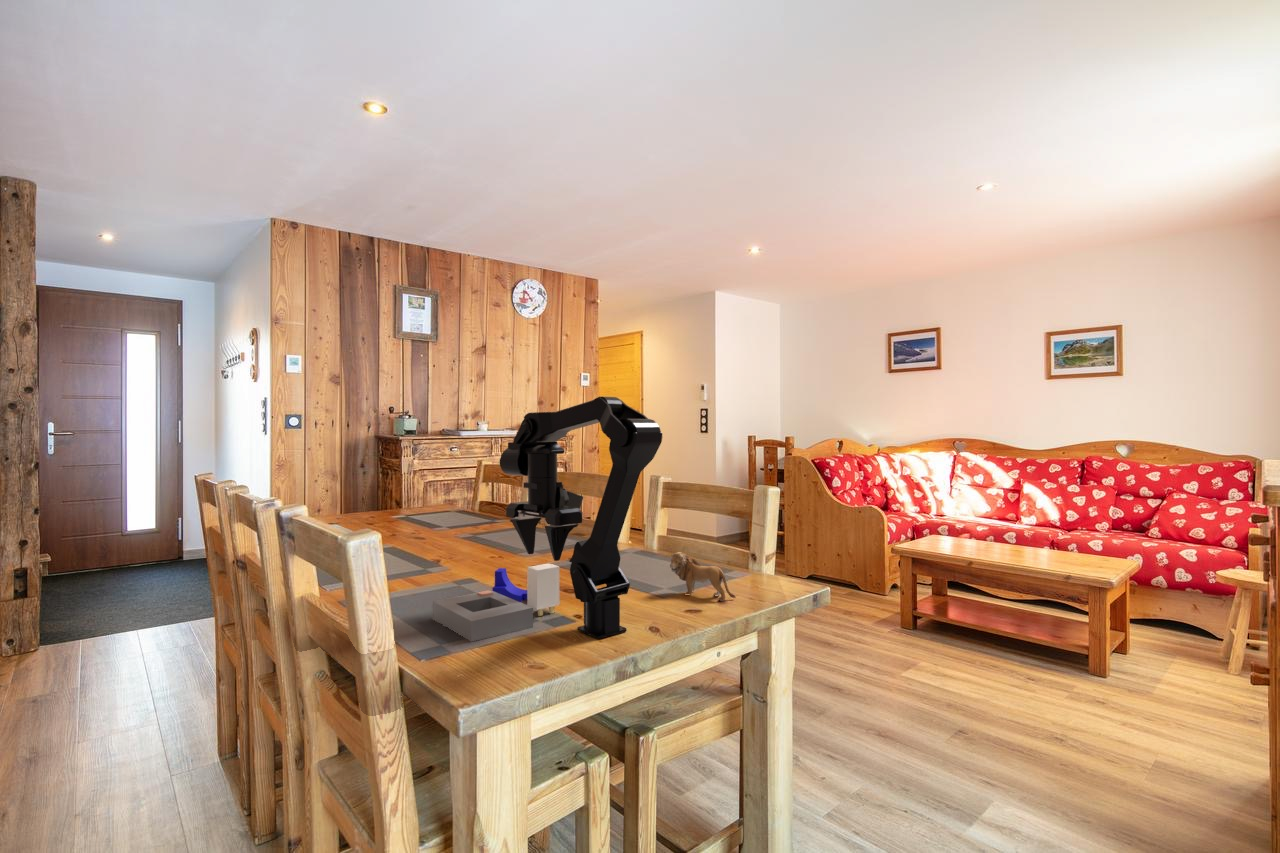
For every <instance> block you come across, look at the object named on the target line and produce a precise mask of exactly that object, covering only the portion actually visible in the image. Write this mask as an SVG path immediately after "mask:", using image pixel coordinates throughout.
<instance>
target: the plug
mask: <svg viewBox="0 0 1280 853" xmlns="http://www.w3.org/2000/svg"><path fill="white" fill-rule="evenodd" d="M526 573H527V576H526V577H527V578H526V579H527V581H526V582H527V583H526V584H527V589H526V590H527V600H526V601H527V603H526V605H528V606H530V607H533V610H536V611H537V616H538V617H541V616H544V609H547V608H548V611H549V612H548V613H549V614H554V613H555V606H560V566H559V565H556V564H552V563H550V562H549V563H544V564H537V565H533V566H527V572H526Z"/></svg>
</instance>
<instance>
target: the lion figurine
mask: <svg viewBox="0 0 1280 853" xmlns="http://www.w3.org/2000/svg"><path fill="white" fill-rule="evenodd" d="M670 556H671V558H670V564H669V568H671V572H673V573H674V574H675V575H676V576H678V578H679V580H681V581H684V582H685V583H686V584H685V585H686V588H687V592H684V595H685V594H691V595H692V594H693V593H692V591H694V592H695V584H696V583H700V584H705V583H709V582H710V584H711V585H712V587H713V588H714V589H715V590H716V592H714V593H713V596H714V595H719V596H720V595H721V596H720V597H719V596H718V601H719V600H720V602H724V601H725V600H726V593H727V594H728V596H729V597H730V598H733V599H735V598H737V597H736V595H734V594H733V593H731V591H730V590H729V587H728V583H727V579H726V576H725V573H724V572H723V571H722V568H720V567H718V566H716V565H711V566H705V565H701V564H700V563H699V562H698V561H697V560H696V559H695V558H693V557H690V555H689V554H686V553H685V552H682V551H676V552H674V553H672V554H671V555H670ZM722 582H723V585H724V588H725V589H724V588H723V587H722V585H721V584H722ZM725 592H726V593H725Z"/></svg>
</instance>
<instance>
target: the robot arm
mask: <svg viewBox="0 0 1280 853" xmlns="http://www.w3.org/2000/svg"><path fill="white" fill-rule="evenodd" d="M595 424H599V426H600V428H601V431H602V433H603V434H604V435H605V436H606V437H607V438H608V439H609V440H610V442H609V447H608V450H609V455H610V460H611V462H612V465H611V469H610V473H609V476H608V479H607V482H606V486H605V488H604V491H603V495H602V498H601V501H600V503H599V504H600V505H599V508H598V510H597V513H596V518H595V520H594V521H595V522H594V523H593V527H592V529H591V533H590V536H589V537H588V539H585V540H580V541H576V542H575V544H574V547H573V554H572V556H571V558H570V559H569V563H570V567H569V574H570V579H571V583H572V587H573V592H574V596H575V599H577V600H579V601H580V602H581V603H583V625H580V626H577V627H576V628H577V631H578V632H581V633H583V634H585V635H588V636H591V637H593V638H595V639H604V638H607V637H611V636H614V635H618V634H622V633H625V632H627V630H628V628H626V627H625V626H622V625H621V624H620V623H621V618H620V617H621V612H620V610H621V606H620V605H621V603H620V602H621V599H620V597H619V596H623V595H627V594H629V589H630V585H631V584H630V582H629V580H628V578H627V577H626V575H625V574H624V572H623V570H622V569H621V568H620V562H621V554H620V550H619V547H618V544H619V539H620V536H621V534H622V533H621V532H622V530H623V527H624V524H625V521H626V517H627V514H628V512H629V508H630V506H631V502H632V499H633V496H634V493H635V491H636V487H637V485H638V484H637V483H638V481H639V478H640V475H641V473H642V472H643V471H644V469H645V468H647V466H648V465H649V464H650V463H651V462H652V460H654V458H655V457H656V455H657V452H658V450H659V448H660V446H661V444H662V442H663V432H662V430H661V428H660V426H659V424H658V423H657V422H656V421H655V420H654V419H652V418H651V419H650V418H648V417H647V416H646V415H645V414H643V413H641V412H640V411H638V410H636V409H634V408H632V407H631V406H630V405H628V404H626V403H625V402H624V401H623V400H622V399H620V398H618V397H617V396H597V397H595V398H594V399H593V400H592V399H591V400H589V401H585V402H582V403H580V404H576V405H573V406H570V407H566V408H563V409H560V410H557V411H544V412H543V411H539V412H537V411H536V412H527V413H526V414H525V415H524V416H523V420H522V422H521V423H520V424H519V428H518V431H517V432H516V434H515V436H514V438H513V441H508V442H507V448H505V449H504V450H503V452H502V453H501V455H500V457H499V467H500V469H501V471H502V472H503V474H505V475H508V476H522V477H523V476H524V477H527V481H526V482H523V488H525V489H527V501H515V502H510V503H509V504H508V505H507V506H506V510H505V512H506V513H505V514H506V518H510V519H509V522H510V523H511V524H512V525H513V527H514V529H515V531H516V532H517V534H518V536H519V538H520V540H521V542H522V545H523V546H524V549H525V550H526V552H527V554H528V555H533V554H534V553H535V546H536V533H537V526H538V524H540V521H541V520H542V518H544V520H545V523H546V525H544V529H545V532H546V537H547V541H548V545H549V548H550V553H551V556H552V558H553V561H555V562H558V561H560V559H561V557H562V555H563V554H562V553H563V551H564V547H565V544H566V542H567V538H568V536H569V533H570V532H571V531H572V530H573V529H575V528H578V526H579V524H583V523H584V521H583V520H584V518H583V517H584V516H583V511H582V510H581V507H582V504H583V500H584V496H583V495H581V494H577V493H574V492H572V491H569V490H567V488H564V484H563V482H562V481H558V455H559V454H560V455H561V454H564V453H565V449H564V448H563V447H562V446H560V444H559V443H558V441H559V440H561V439H563V438H565V437H566V436H567V434H569V432H571V431H574V430H577V429H580V428H585V427H588V426H589V427H590V426H593V425H595ZM602 585H606V586H603V587H599V588H597V587H598V586H602Z"/></svg>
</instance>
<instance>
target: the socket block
mask: <svg viewBox="0 0 1280 853" xmlns="http://www.w3.org/2000/svg"><path fill="white" fill-rule="evenodd" d="M434 620H435V622H436V621H437V622H436V623H438V622H439V623H441V624H443V625H444V626H443V625H442V626H443V627H445V626H446V627H448V628H449V629H448V628H447V629H448V630H450V629H451V630H450V631H452V630H453V631H454V633H455V632H456V633H455V634H457V633H458V634H457V635H459V636H460V635H461V636H460V637H462V636H463V637H462V638H464V639H465V640H467V639H468V640H467V641H469V642H471V643H472V641H473V642H476V640H477V641H481V640H486V639H489V638H493V637H497V636H501V635H506V634H509V633H510V634H511V633H514V632H518V631H521V630H522V631H523V630H526V629H531V628H533V627H534V608H533V607H530V606H528V605H527V604H525V603H523V602H522V601H521V602H518V601H516V600H513V599H511V598H509V597H506V596H504V595H501V594H499V593H497V592H494V591H492V589H489V590H484V591H483V590H482V591H479V592H473V593H468V594H463V595H458V596H456V595H455V596H451V597H447V598H441V599H437V600H432V621H434ZM439 623H438V624H439ZM441 624H440V625H441ZM446 627H445V628H446ZM453 631H452V632H453Z"/></svg>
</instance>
